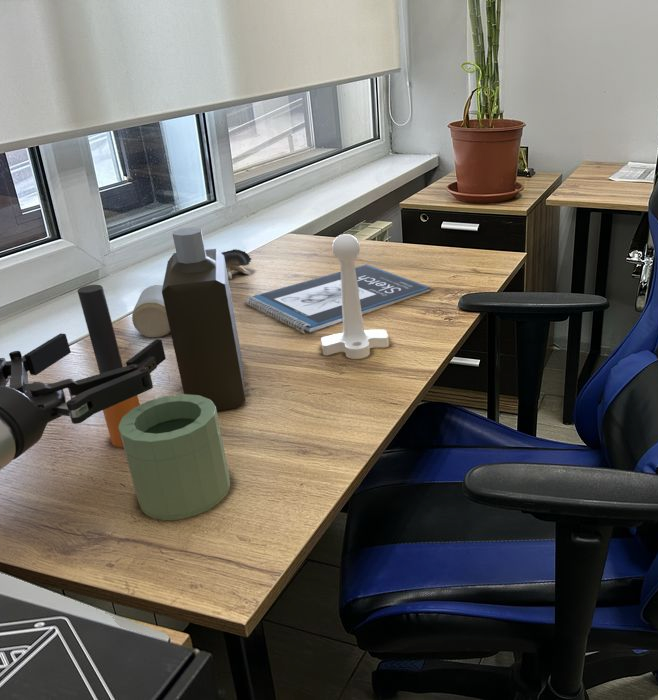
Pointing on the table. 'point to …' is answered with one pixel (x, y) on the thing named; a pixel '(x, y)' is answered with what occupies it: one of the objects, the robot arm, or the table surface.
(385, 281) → the sketchbook
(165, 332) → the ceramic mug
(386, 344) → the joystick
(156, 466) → the sage green tumbler
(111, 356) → the brush
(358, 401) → the table surface
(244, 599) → the table surface
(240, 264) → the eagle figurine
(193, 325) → the bottle
